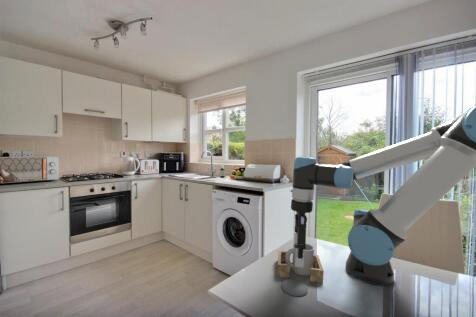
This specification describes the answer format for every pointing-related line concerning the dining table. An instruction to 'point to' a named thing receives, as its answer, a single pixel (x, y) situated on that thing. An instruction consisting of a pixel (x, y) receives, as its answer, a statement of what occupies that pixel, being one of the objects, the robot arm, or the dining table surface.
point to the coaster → (294, 287)
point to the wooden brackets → (315, 273)
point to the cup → (307, 260)
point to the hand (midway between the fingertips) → (297, 257)
